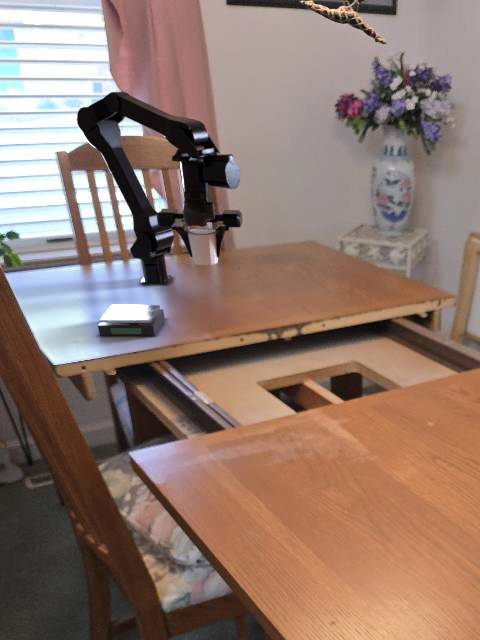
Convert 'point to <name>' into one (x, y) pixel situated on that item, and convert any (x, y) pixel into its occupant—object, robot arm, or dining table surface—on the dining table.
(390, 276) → the dining table surface
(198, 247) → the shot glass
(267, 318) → the dining table surface
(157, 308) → the scale pan
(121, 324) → the scale
